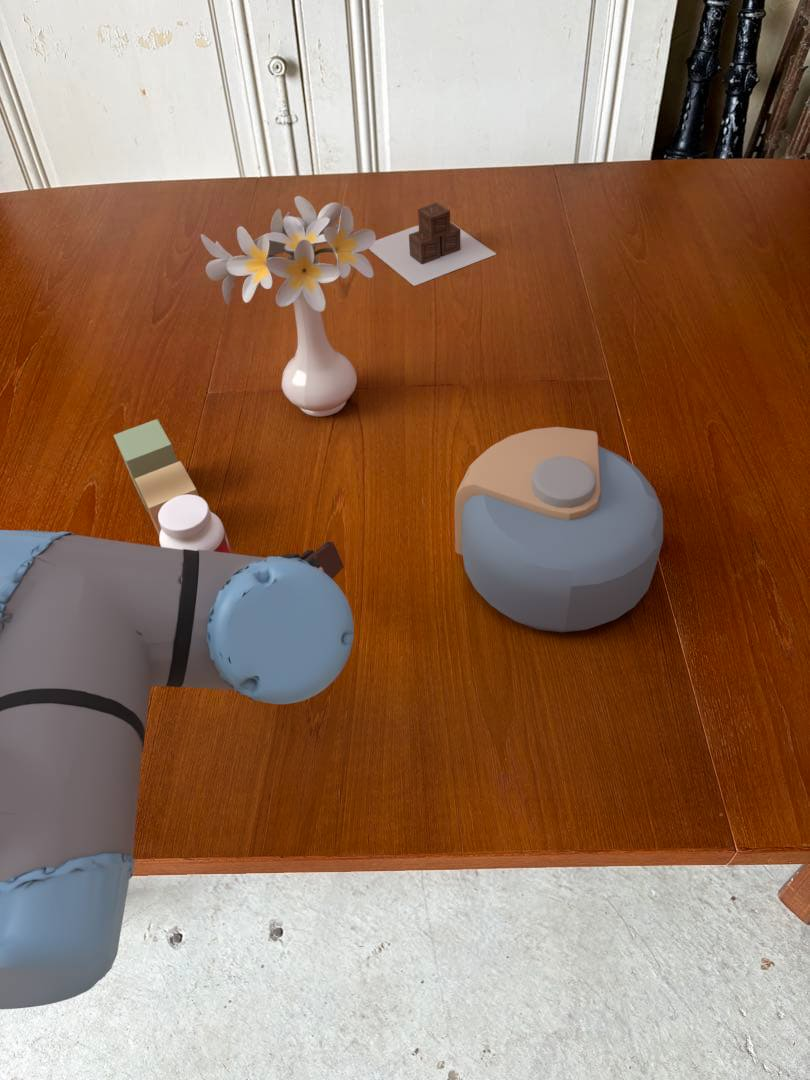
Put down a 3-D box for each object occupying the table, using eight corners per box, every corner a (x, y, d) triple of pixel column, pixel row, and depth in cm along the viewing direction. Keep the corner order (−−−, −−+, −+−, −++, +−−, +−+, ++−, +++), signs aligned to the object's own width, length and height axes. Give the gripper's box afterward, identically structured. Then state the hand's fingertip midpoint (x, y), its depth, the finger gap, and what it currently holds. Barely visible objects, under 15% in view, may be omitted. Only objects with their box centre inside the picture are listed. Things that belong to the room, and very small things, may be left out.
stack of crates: (442, 216, 133) (441, 174, 128) (496, 254, 124) (498, 211, 119) (363, 245, 128) (359, 202, 123) (413, 286, 120) (411, 242, 114)
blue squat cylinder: (574, 469, 92) (585, 383, 83) (692, 591, 80) (721, 506, 71) (425, 532, 87) (420, 448, 78) (527, 672, 75) (536, 591, 66)
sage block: (190, 496, 93) (171, 444, 87) (148, 513, 91) (126, 461, 85) (176, 471, 96) (157, 418, 90) (135, 487, 94) (113, 434, 88)
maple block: (214, 541, 88) (196, 489, 82) (170, 560, 87) (148, 508, 81) (199, 513, 91) (180, 460, 85) (156, 530, 90) (134, 478, 84)
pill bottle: (187, 617, 81) (156, 544, 73) (174, 574, 85) (143, 501, 77) (247, 596, 83) (223, 522, 74) (231, 555, 87) (207, 480, 78)
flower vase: (241, 386, 106) (192, 199, 87) (379, 362, 108) (361, 173, 89) (250, 452, 97) (198, 260, 79) (400, 423, 99) (385, 229, 80)
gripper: (94, 750, 52) (107, 696, 72) (430, 587, 59) (356, 579, 79) (43, 644, 51) (71, 619, 71) (390, 492, 58) (326, 509, 79)
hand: (221, 598), depth 75 cm, fingers open, 13 cm apart
